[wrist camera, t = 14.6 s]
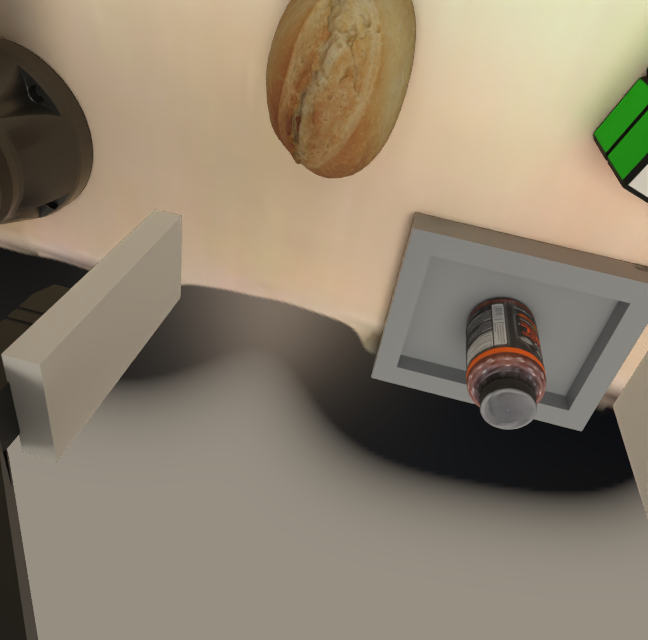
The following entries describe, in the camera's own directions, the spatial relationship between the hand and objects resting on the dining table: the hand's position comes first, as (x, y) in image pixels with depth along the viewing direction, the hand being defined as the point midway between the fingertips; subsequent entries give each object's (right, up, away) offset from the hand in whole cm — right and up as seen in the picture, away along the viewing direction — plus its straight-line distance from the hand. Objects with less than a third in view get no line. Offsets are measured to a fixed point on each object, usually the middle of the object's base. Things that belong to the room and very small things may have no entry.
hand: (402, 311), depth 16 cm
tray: (+14, 0, +36) cm, 39 cm away
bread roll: (0, +19, +27) cm, 33 cm away
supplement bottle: (+13, 0, +35) cm, 38 cm away
